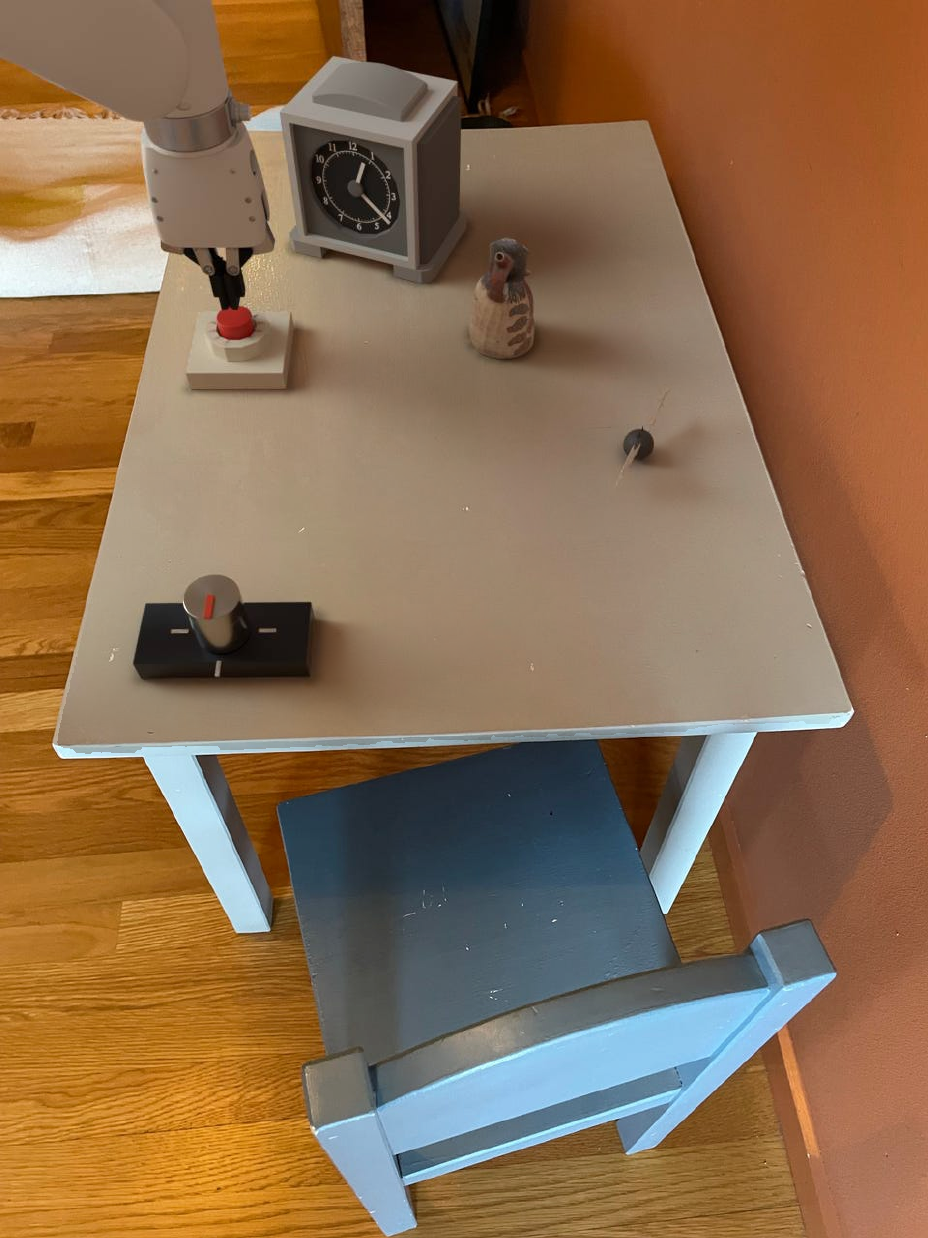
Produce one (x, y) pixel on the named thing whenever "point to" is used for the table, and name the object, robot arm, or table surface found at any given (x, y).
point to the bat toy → (640, 441)
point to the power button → (235, 323)
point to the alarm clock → (376, 166)
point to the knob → (217, 613)
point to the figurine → (503, 304)
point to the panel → (267, 652)
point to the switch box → (241, 353)
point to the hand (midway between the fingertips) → (231, 300)
